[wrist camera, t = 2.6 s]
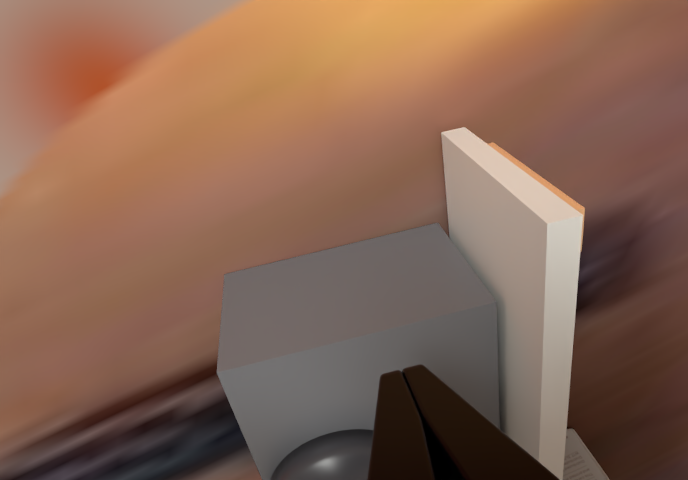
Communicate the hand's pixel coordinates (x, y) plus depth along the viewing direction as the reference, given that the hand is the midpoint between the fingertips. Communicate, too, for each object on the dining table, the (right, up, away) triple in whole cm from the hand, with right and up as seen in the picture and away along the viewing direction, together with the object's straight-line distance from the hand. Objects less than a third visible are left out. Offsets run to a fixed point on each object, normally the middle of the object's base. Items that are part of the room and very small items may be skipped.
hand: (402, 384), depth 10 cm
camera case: (0, -3, +12) cm, 12 cm away
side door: (+4, 0, +11) cm, 11 cm away
